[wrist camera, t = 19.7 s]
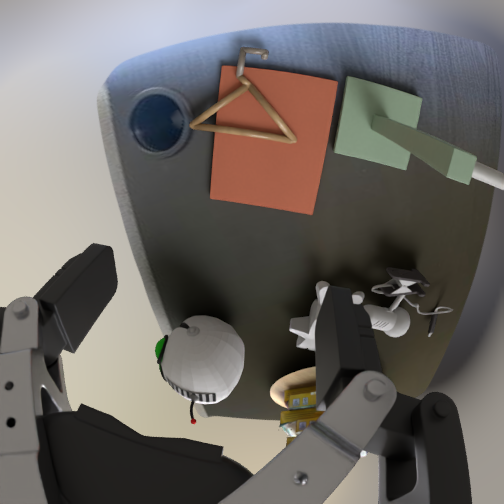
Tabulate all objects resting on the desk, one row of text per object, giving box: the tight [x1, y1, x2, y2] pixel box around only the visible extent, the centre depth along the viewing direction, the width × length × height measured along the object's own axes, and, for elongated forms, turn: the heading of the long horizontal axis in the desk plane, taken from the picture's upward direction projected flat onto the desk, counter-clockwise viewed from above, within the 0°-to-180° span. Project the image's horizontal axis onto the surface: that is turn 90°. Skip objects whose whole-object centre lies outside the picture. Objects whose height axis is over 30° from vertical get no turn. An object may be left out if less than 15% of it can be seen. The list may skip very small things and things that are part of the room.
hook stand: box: [333, 76, 504, 190], centre depth 24 cm, size 10×19×22 cm, turn 83°
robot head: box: [155, 315, 244, 424], centre depth 46 cm, size 16×14×20 cm
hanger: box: [189, 47, 297, 144], centre depth 32 cm, size 14×1×11 cm
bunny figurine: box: [289, 281, 364, 351], centre depth 47 cm, size 10×5×15 cm
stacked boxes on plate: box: [270, 367, 368, 457], centre depth 53 cm, size 25×25×17 cm
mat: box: [210, 65, 338, 215], centre depth 36 cm, size 18×14×1 cm
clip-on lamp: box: [363, 267, 453, 337], centre depth 44 cm, size 12×6×18 cm
